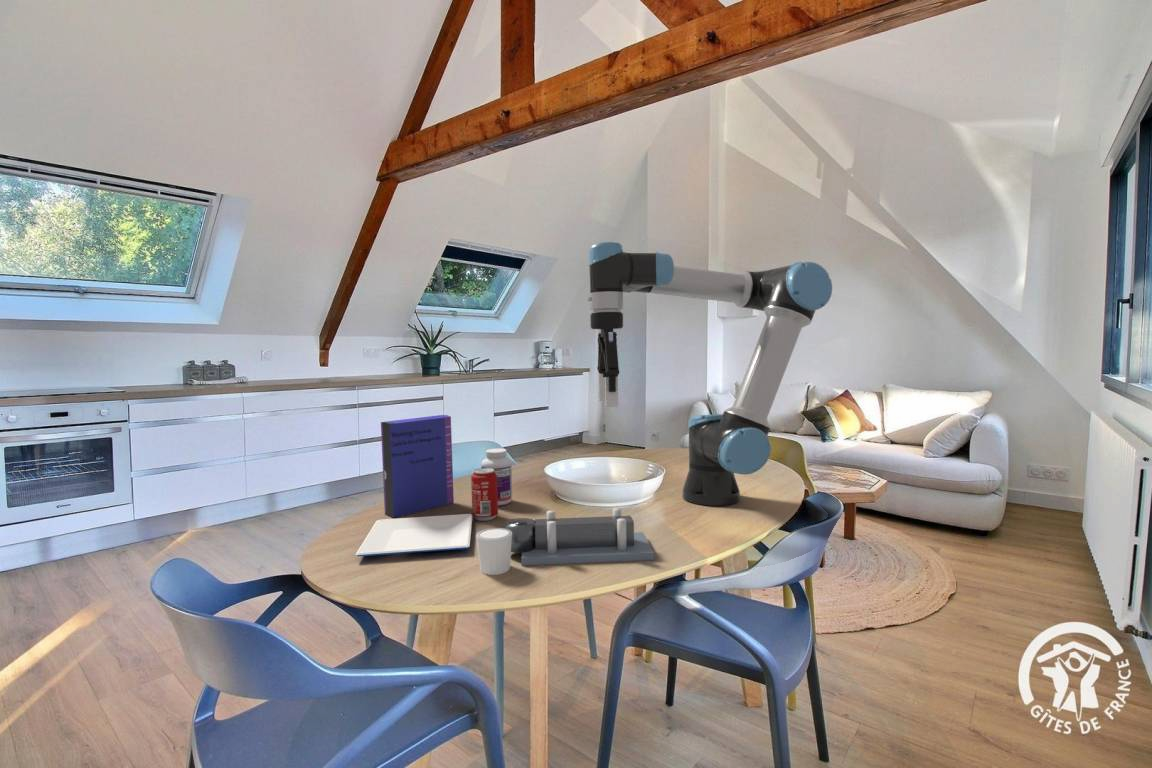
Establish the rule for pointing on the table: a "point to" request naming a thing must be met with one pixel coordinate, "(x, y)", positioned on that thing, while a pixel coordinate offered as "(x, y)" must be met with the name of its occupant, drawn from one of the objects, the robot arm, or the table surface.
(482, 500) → the beverage can
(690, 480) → the robot arm
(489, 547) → the white cup
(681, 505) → the table surface
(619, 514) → the peg rack
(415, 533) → the plate
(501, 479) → the pill bottle
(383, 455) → the blue book
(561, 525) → the dark grey bar
